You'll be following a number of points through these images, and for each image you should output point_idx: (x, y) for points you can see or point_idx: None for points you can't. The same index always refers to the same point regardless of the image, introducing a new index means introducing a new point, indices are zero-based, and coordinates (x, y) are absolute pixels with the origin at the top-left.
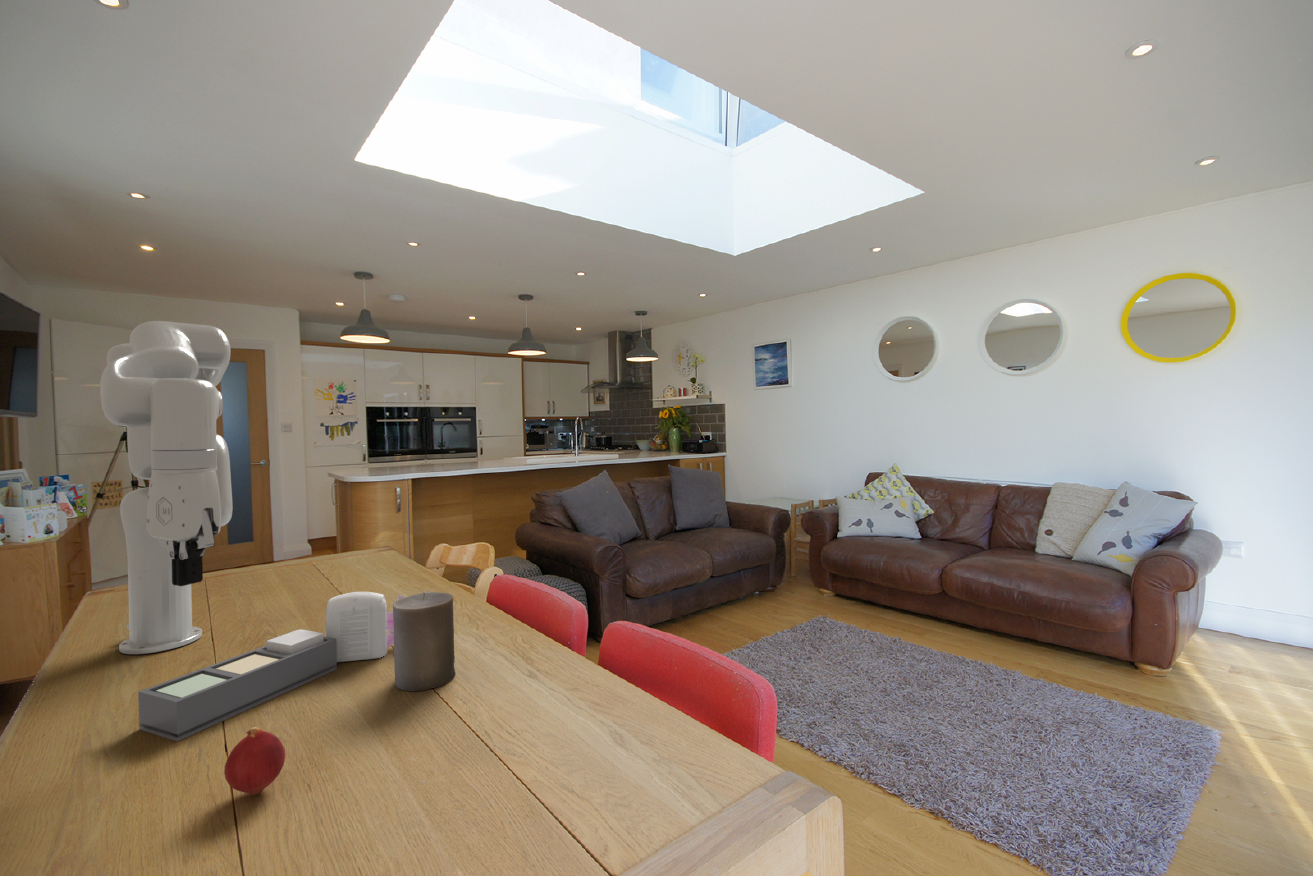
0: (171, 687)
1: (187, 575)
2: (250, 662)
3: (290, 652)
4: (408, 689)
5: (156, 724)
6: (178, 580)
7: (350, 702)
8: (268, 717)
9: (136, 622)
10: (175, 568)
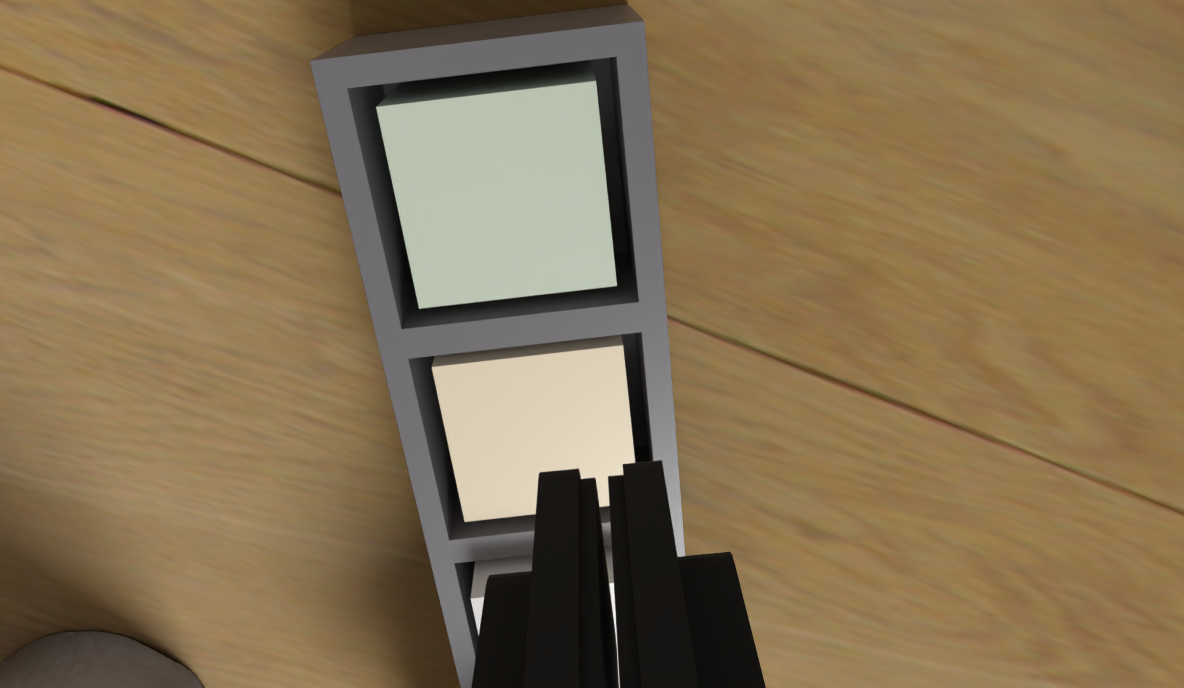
0: (567, 138)
1: (487, 598)
2: (548, 450)
3: (478, 574)
4: (47, 640)
5: (497, 24)
6: (536, 504)
7: (135, 506)
8: (268, 311)
9: None
10: (619, 603)
